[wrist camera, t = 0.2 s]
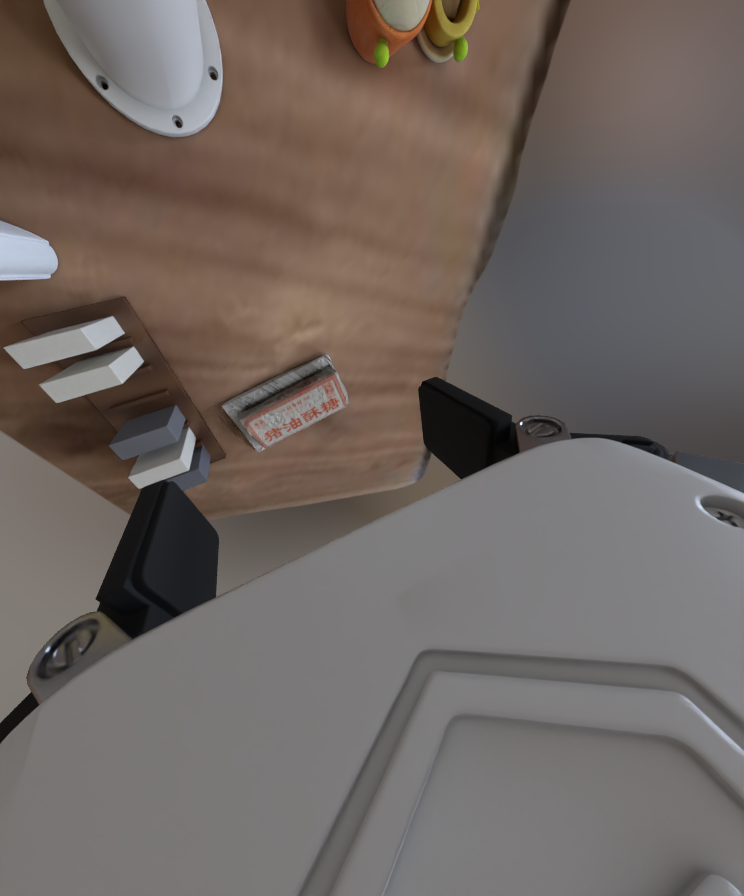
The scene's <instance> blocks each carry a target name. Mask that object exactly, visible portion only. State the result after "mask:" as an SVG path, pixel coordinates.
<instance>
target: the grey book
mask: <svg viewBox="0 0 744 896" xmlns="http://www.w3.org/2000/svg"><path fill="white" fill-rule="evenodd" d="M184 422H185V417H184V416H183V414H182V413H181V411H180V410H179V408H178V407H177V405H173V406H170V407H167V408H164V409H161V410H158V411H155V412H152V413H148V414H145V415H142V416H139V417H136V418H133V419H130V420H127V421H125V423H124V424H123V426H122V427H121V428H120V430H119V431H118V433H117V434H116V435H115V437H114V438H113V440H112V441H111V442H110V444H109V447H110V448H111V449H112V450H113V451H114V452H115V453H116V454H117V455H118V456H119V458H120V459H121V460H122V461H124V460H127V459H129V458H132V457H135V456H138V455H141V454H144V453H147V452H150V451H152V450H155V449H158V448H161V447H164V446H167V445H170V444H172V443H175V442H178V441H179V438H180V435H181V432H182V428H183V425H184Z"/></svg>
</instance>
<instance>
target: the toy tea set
mask: <svg viewBox="0 0 744 896" xmlns="http://www.w3.org/2000/svg"><path fill="white" fill-rule="evenodd" d="M478 10H479V0H346V19H347V26H348V31H349V34H350V37H351V40H352V43H353V45H354V47H355V48H356V50H357V52H358V53H359V54H360V56H361V57H362V58H363V59H365V60H366V61H368V62H370V63H373V64H376V65H377V66H378V67H380V68H382V67H384V66H385V65H386V64H387V62H388V59H389V57H390V56H391V55H393V54H394V53H395V52H396V51H397V50H399V49H400V48H401V47H403V46H404V45H405V44H407V43H408V42H409V41H410V40H412V39H413V38H414V37H415V36H417V39H418V42H419V44H420V46H421V48H422V50H423V52H424V53H425V54H426V56H427V57H428V58H429V59H430V60H432V61H434V62H438V63H441V62H445V61H447V60H449V59H450V58H451V57H452V56H453V54H454V58H455V60H456V61H457V62H460V61H462V60H463V59H464V58H465V57H466V54H467V51H468V44H467V41H466V39H464V38H463V35H464V34H465V33H466V32H467V30H468V29H469V27H470V25H471V24H472V21H473V19H474V15H475V12H477V11H478Z"/></svg>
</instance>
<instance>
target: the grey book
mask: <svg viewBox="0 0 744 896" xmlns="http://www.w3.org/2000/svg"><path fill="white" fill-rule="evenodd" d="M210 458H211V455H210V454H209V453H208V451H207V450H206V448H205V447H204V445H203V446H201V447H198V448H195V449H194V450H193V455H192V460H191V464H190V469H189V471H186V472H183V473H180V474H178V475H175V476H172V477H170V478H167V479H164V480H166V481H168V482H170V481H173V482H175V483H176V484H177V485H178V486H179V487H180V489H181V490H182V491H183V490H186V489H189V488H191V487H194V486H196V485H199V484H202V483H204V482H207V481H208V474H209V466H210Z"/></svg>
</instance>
